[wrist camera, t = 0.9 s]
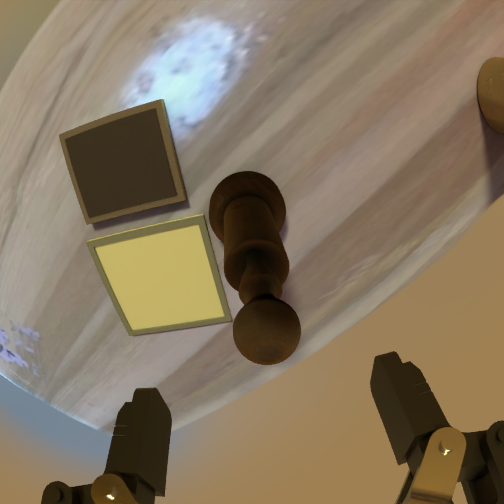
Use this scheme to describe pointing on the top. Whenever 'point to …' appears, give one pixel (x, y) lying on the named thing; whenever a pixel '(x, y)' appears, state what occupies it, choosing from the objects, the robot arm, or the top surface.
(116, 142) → the ink pad
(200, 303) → the print card
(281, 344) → the brown wooden stamp
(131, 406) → the robot arm
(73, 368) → the top surface
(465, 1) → the top surface
